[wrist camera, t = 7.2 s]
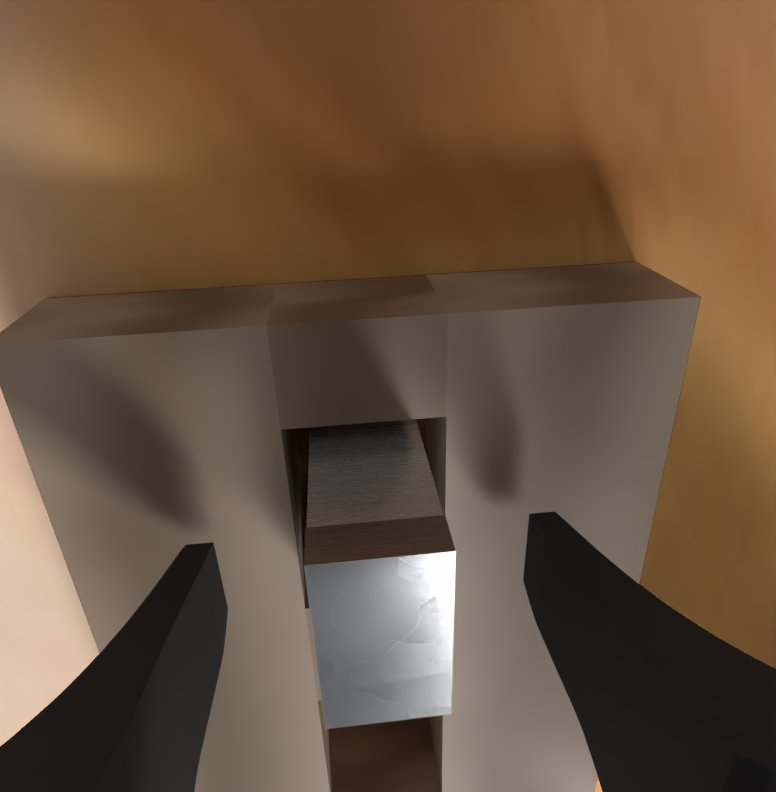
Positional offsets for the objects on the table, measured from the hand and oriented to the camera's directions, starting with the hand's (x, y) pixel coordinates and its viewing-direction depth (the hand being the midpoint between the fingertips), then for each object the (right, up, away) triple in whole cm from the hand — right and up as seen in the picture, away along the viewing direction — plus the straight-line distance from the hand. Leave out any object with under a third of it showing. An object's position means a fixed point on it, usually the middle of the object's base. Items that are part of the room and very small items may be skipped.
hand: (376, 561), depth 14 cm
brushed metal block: (0, +2, +4) cm, 5 cm away
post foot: (0, -2, +6) cm, 7 cm away
